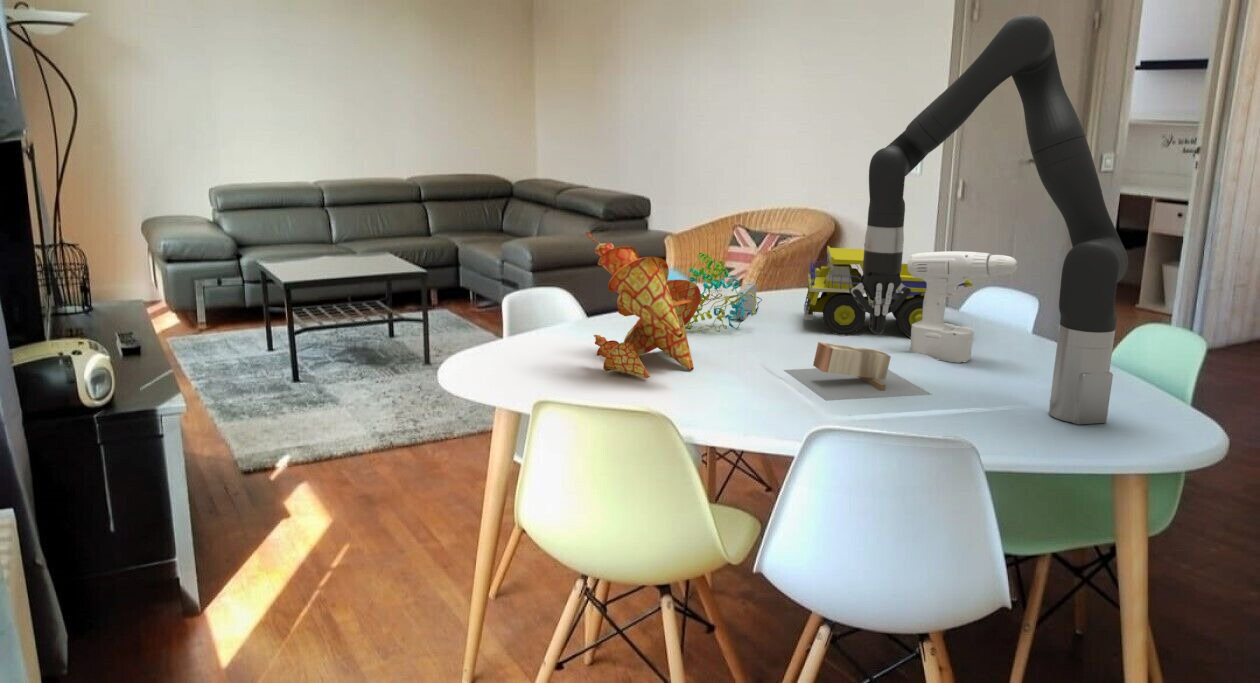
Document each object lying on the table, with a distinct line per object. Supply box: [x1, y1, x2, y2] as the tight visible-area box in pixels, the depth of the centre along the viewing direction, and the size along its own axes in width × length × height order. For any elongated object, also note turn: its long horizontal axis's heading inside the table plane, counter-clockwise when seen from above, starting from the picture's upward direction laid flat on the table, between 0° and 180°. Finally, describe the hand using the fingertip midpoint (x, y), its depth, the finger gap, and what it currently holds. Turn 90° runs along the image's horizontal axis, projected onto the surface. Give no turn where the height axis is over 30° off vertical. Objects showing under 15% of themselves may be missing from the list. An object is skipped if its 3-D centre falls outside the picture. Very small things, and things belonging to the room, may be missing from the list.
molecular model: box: [685, 252, 763, 334], centre depth 239 cm, size 23×21×15 cm
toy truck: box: [803, 245, 973, 339], centre depth 243 cm, size 24×40×20 cm, turn 81°
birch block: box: [812, 341, 892, 380], centre depth 191 cm, size 5×5×14 cm
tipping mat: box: [783, 367, 932, 401], centre depth 193 cm, size 22×22×2 cm
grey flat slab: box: [735, 281, 757, 321], centre depth 258 cm, size 20×2×8 cm, turn 162°
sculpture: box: [584, 230, 702, 379], centre depth 205 cm, size 33×28×35 cm
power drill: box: [907, 250, 1018, 363], centre depth 213 cm, size 8×24×25 cm, turn 51°
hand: (876, 332), depth 191 cm, fingers closed
